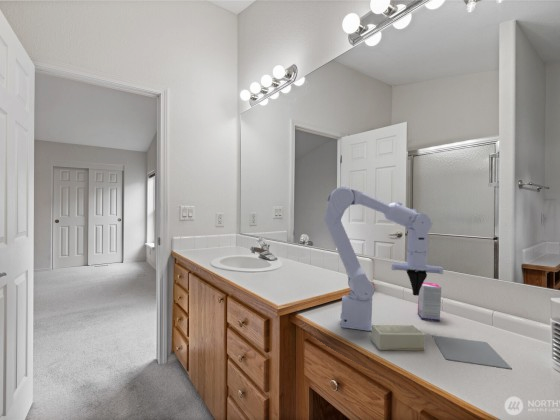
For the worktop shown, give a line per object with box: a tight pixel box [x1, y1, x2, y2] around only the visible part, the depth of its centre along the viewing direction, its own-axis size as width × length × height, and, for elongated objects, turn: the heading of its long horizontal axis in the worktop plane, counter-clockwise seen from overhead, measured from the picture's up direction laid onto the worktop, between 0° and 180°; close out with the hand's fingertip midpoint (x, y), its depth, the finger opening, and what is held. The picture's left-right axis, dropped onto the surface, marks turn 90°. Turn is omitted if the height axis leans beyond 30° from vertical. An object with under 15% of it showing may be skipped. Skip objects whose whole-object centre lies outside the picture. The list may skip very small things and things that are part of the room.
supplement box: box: [417, 281, 442, 322], centre depth 100 cm, size 6×6×12 cm
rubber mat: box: [431, 334, 513, 370], centre depth 77 cm, size 14×14×1 cm
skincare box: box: [370, 324, 426, 351], centre depth 79 cm, size 6×4×12 cm
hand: (415, 294), depth 91 cm, fingers closed
